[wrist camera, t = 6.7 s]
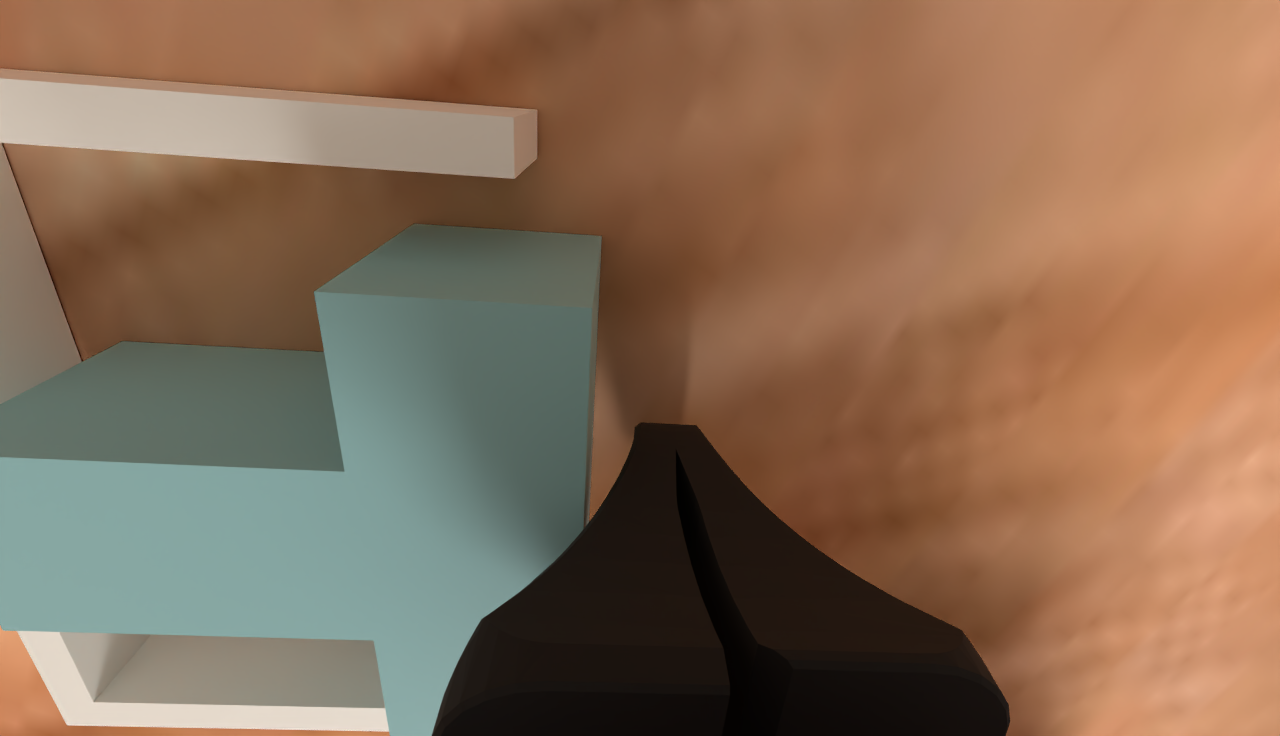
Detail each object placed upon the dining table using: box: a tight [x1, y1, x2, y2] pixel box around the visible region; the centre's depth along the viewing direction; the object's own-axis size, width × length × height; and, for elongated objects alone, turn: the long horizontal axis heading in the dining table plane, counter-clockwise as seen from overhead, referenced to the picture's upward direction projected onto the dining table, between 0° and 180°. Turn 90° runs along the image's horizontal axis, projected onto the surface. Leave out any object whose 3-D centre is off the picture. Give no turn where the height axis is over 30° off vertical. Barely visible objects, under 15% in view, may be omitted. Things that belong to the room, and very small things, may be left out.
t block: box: [0, 224, 602, 736], centre depth 11 cm, size 10×9×4 cm
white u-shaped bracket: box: [0, 68, 537, 731], centre depth 12 cm, size 10×13×2 cm
